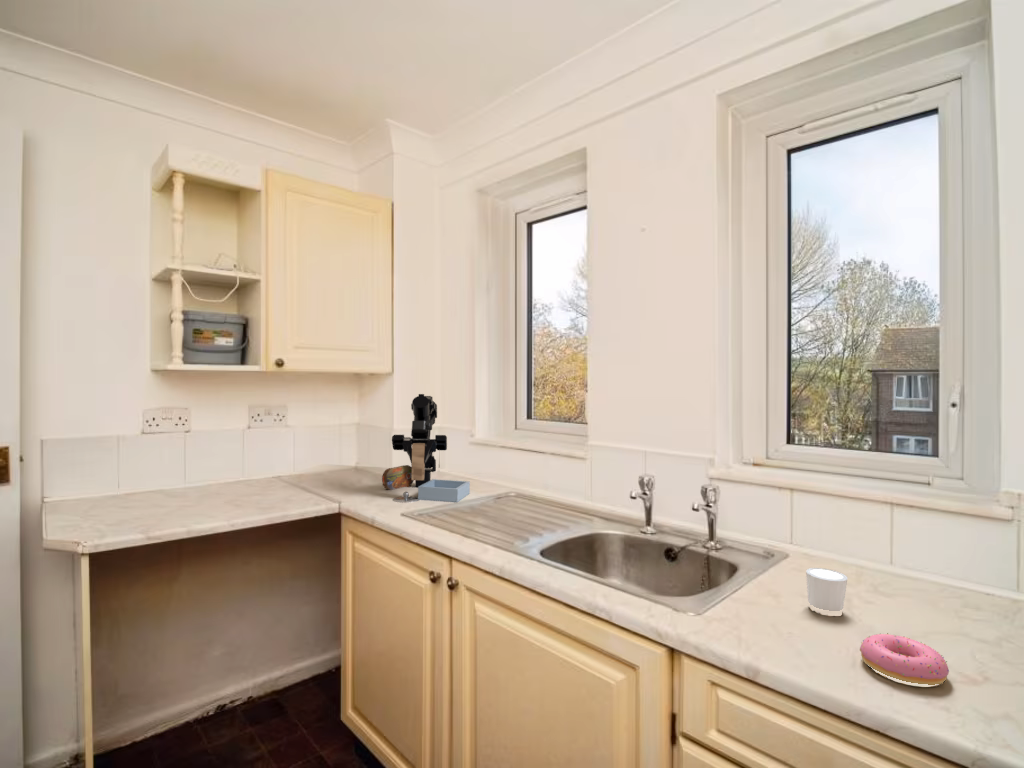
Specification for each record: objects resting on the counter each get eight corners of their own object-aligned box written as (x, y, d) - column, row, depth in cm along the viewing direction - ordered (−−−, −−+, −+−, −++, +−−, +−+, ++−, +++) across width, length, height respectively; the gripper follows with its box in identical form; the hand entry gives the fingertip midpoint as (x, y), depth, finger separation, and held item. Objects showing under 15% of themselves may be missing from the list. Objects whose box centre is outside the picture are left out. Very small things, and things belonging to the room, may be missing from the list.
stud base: (399, 497, 192) (399, 488, 192) (423, 499, 190) (423, 490, 190) (387, 503, 183) (387, 493, 183) (413, 505, 181) (413, 495, 181)
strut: (412, 477, 189) (413, 443, 189) (424, 477, 189) (425, 443, 189) (411, 480, 185) (412, 444, 185) (423, 480, 185) (424, 444, 185)
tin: (386, 492, 199) (386, 469, 199) (380, 491, 201) (380, 468, 201) (415, 485, 212) (414, 463, 212) (409, 485, 214) (408, 463, 214)
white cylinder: (830, 620, 100) (831, 582, 99) (796, 605, 106) (797, 569, 106) (854, 614, 102) (856, 577, 102) (820, 600, 109) (822, 565, 108)
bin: (432, 492, 200) (432, 479, 200) (469, 495, 197) (469, 481, 197) (418, 501, 187) (418, 486, 186) (457, 504, 184) (457, 489, 183)
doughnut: (846, 666, 84) (846, 639, 84) (877, 647, 90) (878, 622, 90) (931, 702, 75) (932, 672, 75) (960, 678, 81) (961, 650, 81)
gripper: (392, 411, 190) (387, 447, 179) (447, 412, 191) (445, 448, 181) (395, 431, 198) (390, 467, 187) (447, 432, 199) (445, 467, 189)
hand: (418, 462), depth 186 cm, fingers closed on strut, 4 cm apart
